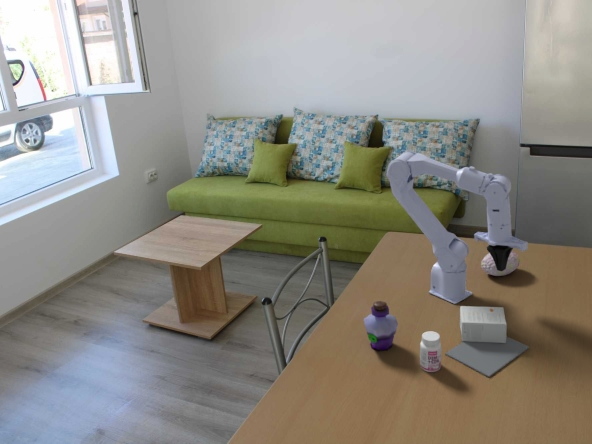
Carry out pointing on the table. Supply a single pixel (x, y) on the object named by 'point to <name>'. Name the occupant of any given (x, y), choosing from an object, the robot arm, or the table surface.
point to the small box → (483, 324)
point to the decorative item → (490, 266)
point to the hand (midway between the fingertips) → (501, 269)
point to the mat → (487, 355)
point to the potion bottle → (380, 326)
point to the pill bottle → (430, 351)
